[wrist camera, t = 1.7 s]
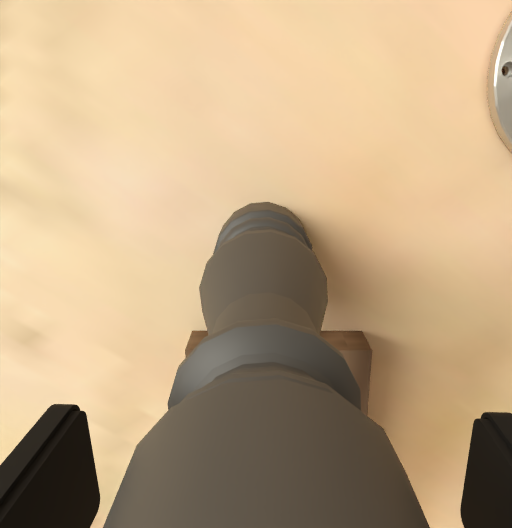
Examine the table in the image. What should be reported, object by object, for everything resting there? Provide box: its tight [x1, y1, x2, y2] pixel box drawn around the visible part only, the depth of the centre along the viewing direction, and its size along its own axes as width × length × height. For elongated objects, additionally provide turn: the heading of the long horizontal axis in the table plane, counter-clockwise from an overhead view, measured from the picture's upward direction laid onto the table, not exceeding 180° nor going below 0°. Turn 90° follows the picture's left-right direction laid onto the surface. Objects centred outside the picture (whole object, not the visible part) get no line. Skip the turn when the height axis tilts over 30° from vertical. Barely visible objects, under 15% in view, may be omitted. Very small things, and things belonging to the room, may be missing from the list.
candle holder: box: [103, 202, 430, 528], centre depth 18 cm, size 6×6×25 cm
